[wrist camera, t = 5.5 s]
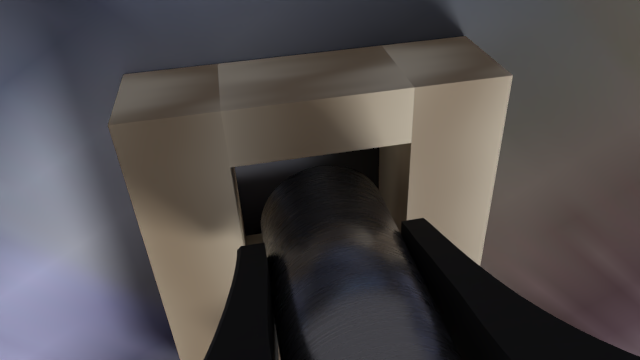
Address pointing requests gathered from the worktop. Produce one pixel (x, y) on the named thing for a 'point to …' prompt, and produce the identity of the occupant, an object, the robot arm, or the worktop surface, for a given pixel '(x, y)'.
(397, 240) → the steel peg
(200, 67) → the hitch block
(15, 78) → the worktop surface
